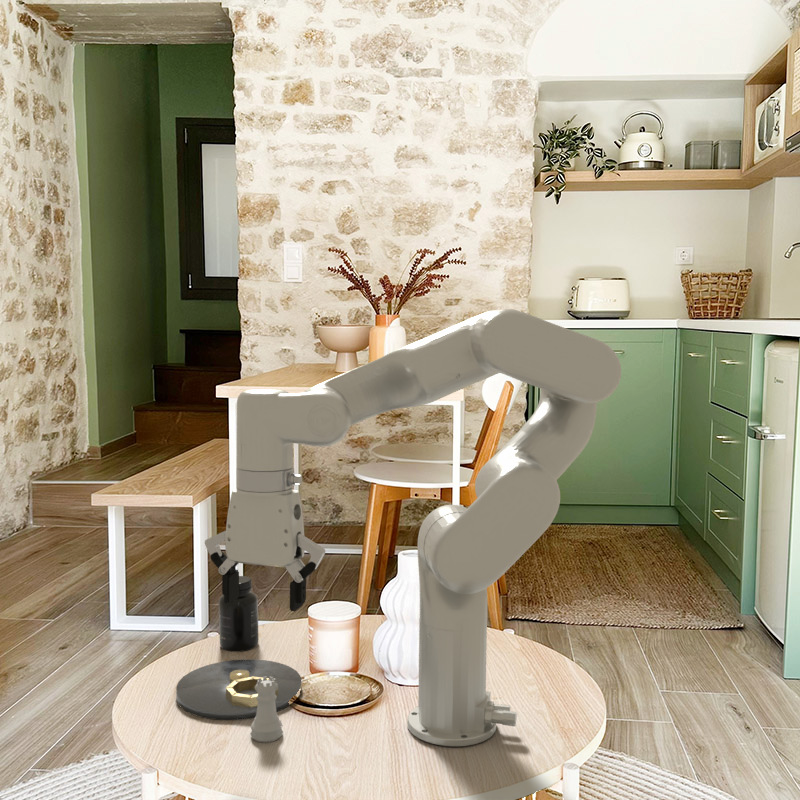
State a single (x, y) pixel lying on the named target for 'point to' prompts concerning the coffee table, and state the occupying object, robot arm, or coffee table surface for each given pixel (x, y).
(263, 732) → the rook chess piece
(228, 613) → the supplement bottle
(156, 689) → the coffee table surface
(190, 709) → the carrier plate
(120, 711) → the coffee table surface
